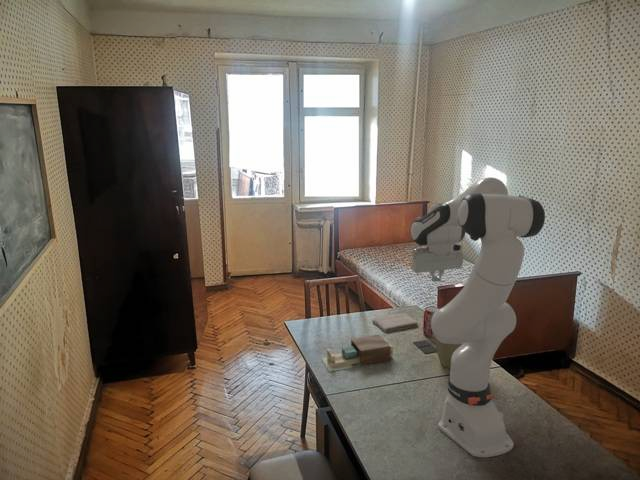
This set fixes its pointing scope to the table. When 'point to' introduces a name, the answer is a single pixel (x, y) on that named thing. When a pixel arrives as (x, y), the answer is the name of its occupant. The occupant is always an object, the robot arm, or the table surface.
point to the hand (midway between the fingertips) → (436, 281)
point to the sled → (347, 356)
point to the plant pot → (445, 352)
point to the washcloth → (394, 322)
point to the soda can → (428, 320)
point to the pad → (334, 367)
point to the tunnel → (372, 349)
